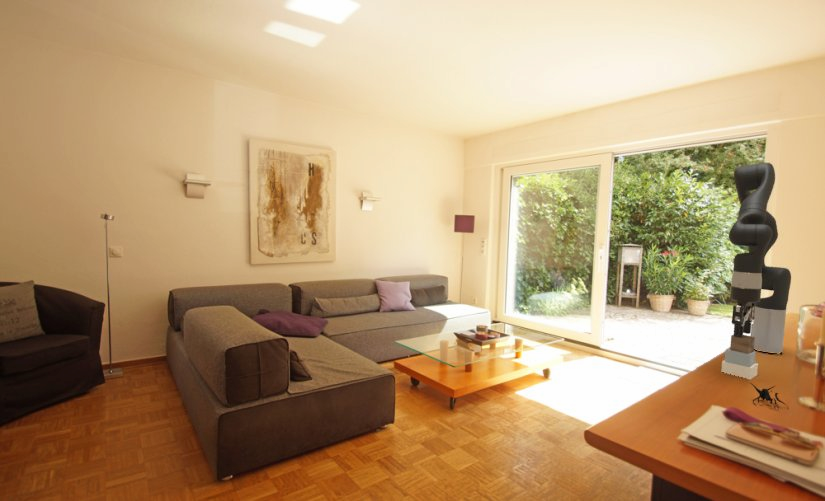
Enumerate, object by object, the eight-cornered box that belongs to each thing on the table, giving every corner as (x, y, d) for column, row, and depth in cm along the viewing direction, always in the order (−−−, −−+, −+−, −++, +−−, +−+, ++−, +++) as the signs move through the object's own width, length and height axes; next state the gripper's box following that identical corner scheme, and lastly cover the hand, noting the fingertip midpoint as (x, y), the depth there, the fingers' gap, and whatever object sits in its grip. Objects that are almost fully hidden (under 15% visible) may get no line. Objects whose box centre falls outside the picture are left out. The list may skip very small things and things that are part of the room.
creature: (793, 417, 104) (775, 398, 111) (798, 399, 103) (780, 381, 110) (757, 412, 106) (742, 394, 113) (762, 395, 105) (746, 377, 112)
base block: (728, 368, 137) (729, 357, 137) (757, 375, 131) (758, 363, 131) (721, 373, 132) (722, 361, 132) (750, 380, 126) (750, 368, 126)
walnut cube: (735, 347, 134) (736, 333, 134) (753, 351, 130) (754, 337, 130) (730, 349, 132) (731, 335, 131) (748, 354, 128) (749, 339, 127)
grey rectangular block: (730, 357, 136) (730, 346, 136) (754, 363, 131) (755, 351, 131) (724, 361, 132) (725, 349, 132) (749, 367, 127) (750, 355, 126)
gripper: (738, 282, 137) (734, 329, 138) (724, 286, 128) (720, 335, 129) (767, 285, 131) (762, 334, 132) (754, 289, 122) (750, 341, 123)
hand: (742, 335), depth 131 cm, fingers open, 8 cm apart
